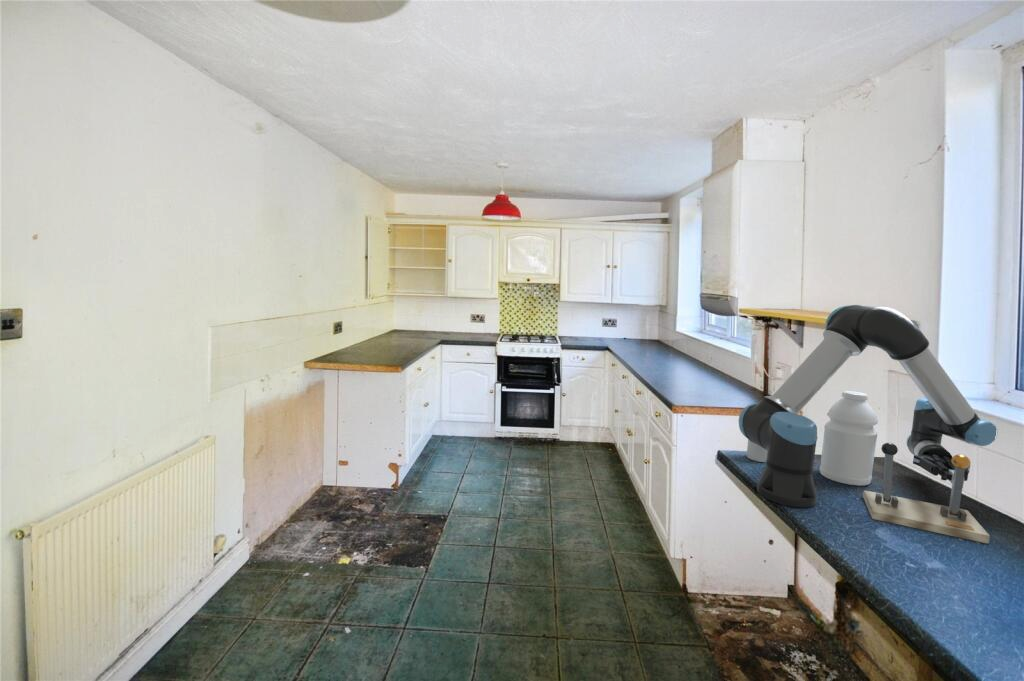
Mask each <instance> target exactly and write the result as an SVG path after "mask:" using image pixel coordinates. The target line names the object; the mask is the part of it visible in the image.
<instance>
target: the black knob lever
mask: <svg viewBox="0 0 1024 681" xmlns="http://www.w3.org/2000/svg"><path fill="white" fill-rule="evenodd" d="M880 450H881V452H882V453H883V454H884V465H883V482H882V483H883V484H882V485H883V486H882V487H883V488H882V494H883V501H884V502H889V503H890V501H891V496H892V489H893V472H894V471H893V470H894V456H895V455H897V453H898V452H899V450H898V447H897V445H896V444H894V443H893V442H885V443H883V444H882V445H881V449H880Z"/></svg>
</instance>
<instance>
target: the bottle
mask: <svg viewBox="0 0 1024 681" xmlns="http://www.w3.org/2000/svg"><path fill="white" fill-rule="evenodd" d="M841 397H842V398H840V399H839V400H838V401H836V402H835V403H834V404H832V406H831V407H830V409H829V410H828V412H827V413H826V415H827V416H828V417H829V419H830V420H829V421H828V422H826V423H825V425H824V429H823V430H824V431H823V439H822V440H823V442H822V447H821V448H822V449H821V457H820V466H819V473H820V475H822V476H823V477H824V478H826V479H828V480H830V481H831V480H832V481H834V482H837V483H840V484H845V485H850V486H868V485H870V484H871V482H872V480H873V475H872V474H873V468H874V460H875V453H876V446H877V439H878V434H879V433H878V431H877V430H876V429H875V427H874V426H875V425H877V424H878V422H879V420H878V416H877V414H876V412H875V410H874V408H873V407H872V406H871V405H870V404H869V403H868V402H867V401H868V399H869V395H868V394H867V393H865V392H861V391H854V390H843V391H842V394H841Z"/></svg>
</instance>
